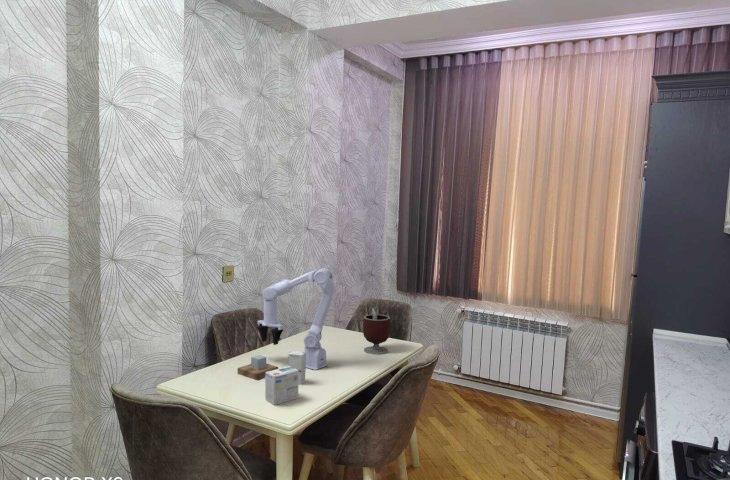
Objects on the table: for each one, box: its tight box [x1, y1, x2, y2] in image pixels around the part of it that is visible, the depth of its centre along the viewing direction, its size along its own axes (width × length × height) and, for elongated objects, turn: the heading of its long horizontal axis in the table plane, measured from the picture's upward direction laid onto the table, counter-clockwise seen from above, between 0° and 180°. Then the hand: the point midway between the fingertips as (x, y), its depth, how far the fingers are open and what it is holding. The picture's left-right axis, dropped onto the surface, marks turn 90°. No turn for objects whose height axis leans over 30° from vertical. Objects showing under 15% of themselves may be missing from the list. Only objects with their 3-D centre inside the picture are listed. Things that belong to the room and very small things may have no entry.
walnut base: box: [237, 362, 279, 381], centre depth 202 cm, size 12×12×3 cm
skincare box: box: [288, 350, 307, 385], centre depth 193 cm, size 6×4×12 cm
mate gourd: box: [362, 307, 391, 356], centre depth 239 cm, size 16×14×20 cm
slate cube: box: [250, 354, 267, 370], centre depth 202 cm, size 4×4×4 cm
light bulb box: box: [264, 365, 299, 406], centre depth 175 cm, size 11×7×11 cm, turn 133°
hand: (269, 342), depth 215 cm, fingers open, 7 cm apart
